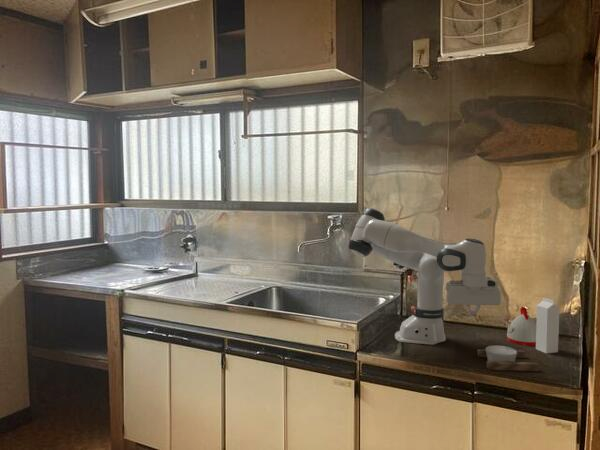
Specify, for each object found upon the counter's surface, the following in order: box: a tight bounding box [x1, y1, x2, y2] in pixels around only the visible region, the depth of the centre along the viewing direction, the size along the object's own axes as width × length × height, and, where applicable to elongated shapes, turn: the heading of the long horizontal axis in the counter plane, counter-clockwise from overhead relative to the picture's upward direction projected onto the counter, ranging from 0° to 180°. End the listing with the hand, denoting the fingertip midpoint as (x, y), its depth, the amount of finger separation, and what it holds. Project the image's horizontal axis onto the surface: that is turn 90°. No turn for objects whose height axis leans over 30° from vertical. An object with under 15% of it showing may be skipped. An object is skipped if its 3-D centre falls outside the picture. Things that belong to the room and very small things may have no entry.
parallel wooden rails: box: [476, 348, 539, 372], centre depth 193 cm, size 18×16×2 cm
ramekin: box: [485, 344, 517, 362], centre depth 194 cm, size 11×11×5 cm
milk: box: [535, 297, 560, 354], centre depth 206 cm, size 6×6×22 cm
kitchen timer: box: [506, 306, 537, 347], centre depth 220 cm, size 14×14×15 cm
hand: (472, 315), depth 193 cm, fingers closed
